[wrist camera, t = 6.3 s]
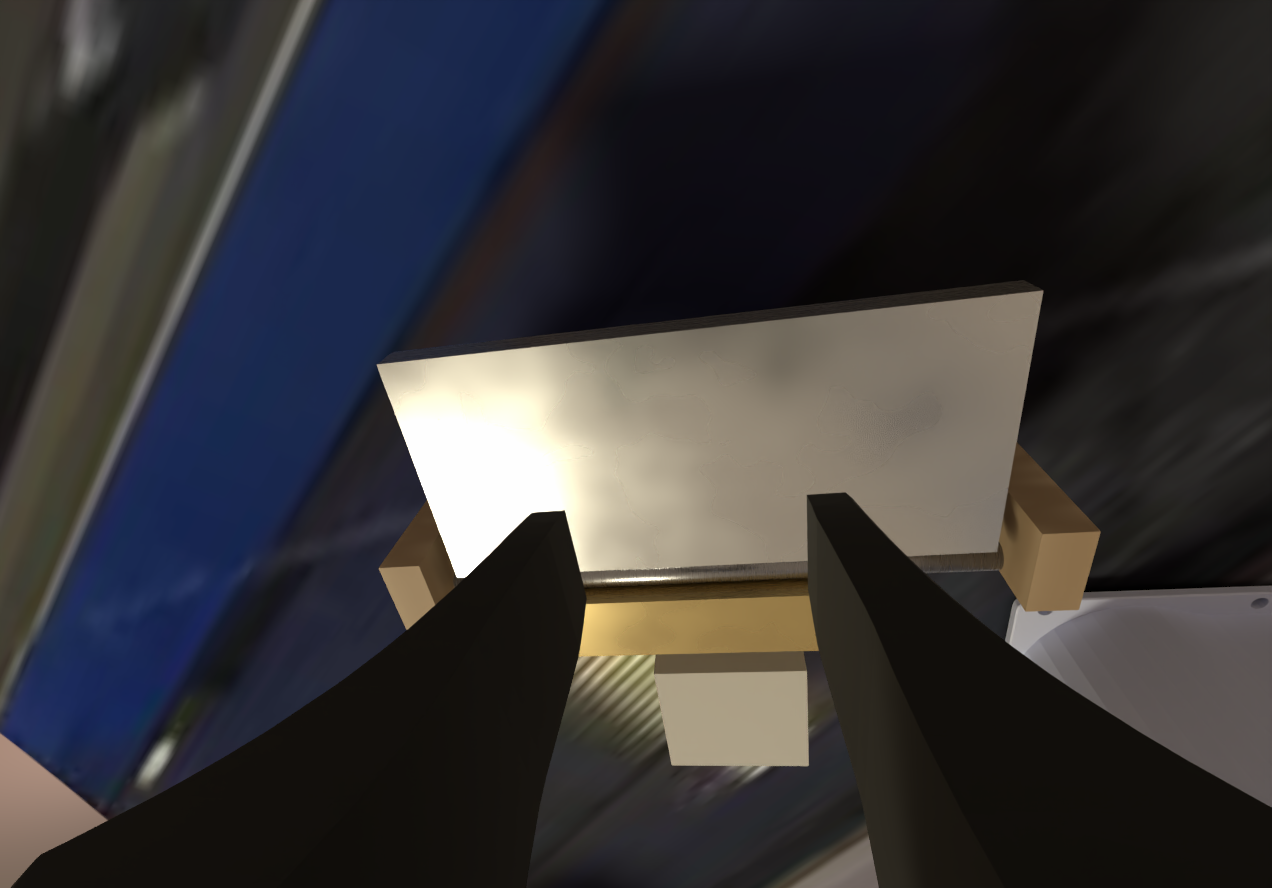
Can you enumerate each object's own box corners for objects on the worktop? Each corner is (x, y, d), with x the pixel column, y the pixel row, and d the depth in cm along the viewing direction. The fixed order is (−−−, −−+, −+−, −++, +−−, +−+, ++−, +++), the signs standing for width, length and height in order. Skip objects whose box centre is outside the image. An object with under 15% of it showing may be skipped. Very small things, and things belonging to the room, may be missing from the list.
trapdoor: (1025, 273, 12) (1065, 294, 11) (972, 602, 17) (996, 646, 15) (392, 347, 15) (359, 372, 13) (490, 618, 19) (473, 658, 18)
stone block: (787, 567, 24) (806, 671, 19) (791, 656, 26) (808, 765, 22) (663, 573, 24) (654, 673, 20) (677, 659, 27) (671, 765, 22)
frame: (980, 394, 19) (1104, 521, 13) (960, 541, 22) (1054, 700, 16) (463, 439, 22) (374, 559, 16) (504, 564, 25) (441, 706, 19)
